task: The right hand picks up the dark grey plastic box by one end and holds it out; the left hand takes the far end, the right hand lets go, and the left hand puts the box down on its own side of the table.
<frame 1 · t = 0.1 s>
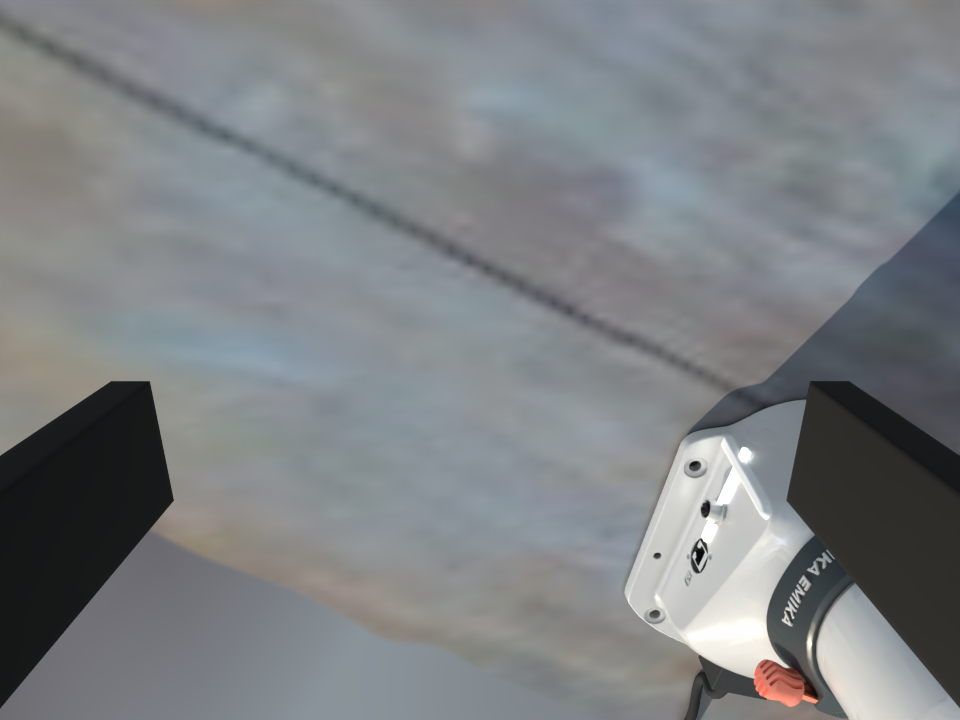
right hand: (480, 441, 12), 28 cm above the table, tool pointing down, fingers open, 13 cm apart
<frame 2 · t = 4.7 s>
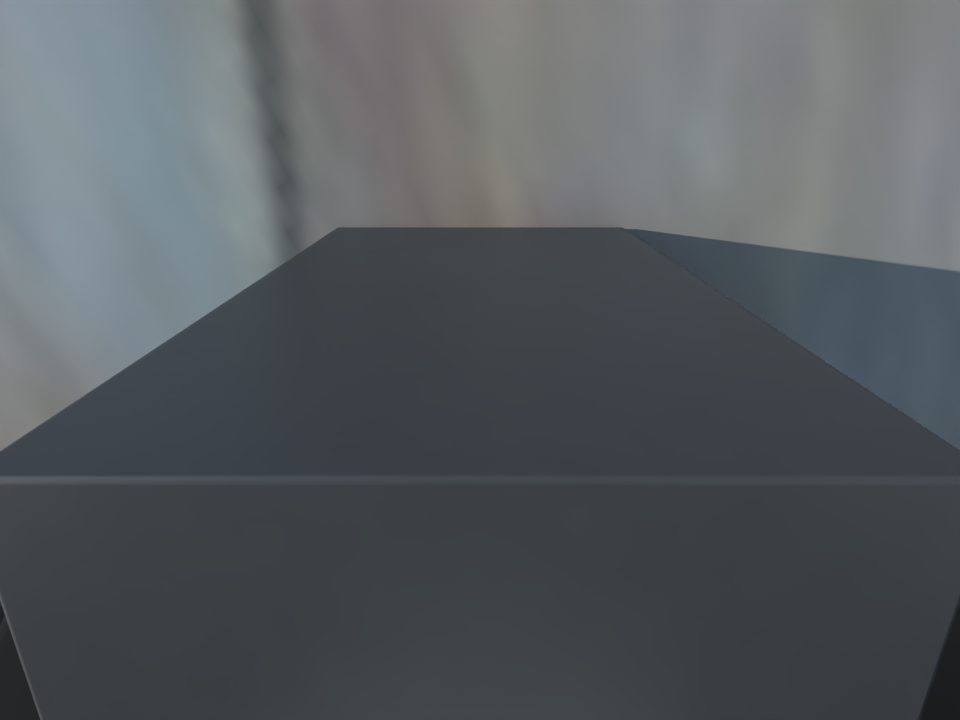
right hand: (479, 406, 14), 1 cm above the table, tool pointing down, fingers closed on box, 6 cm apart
box: (480, 656, 18), on the table, touching right hand
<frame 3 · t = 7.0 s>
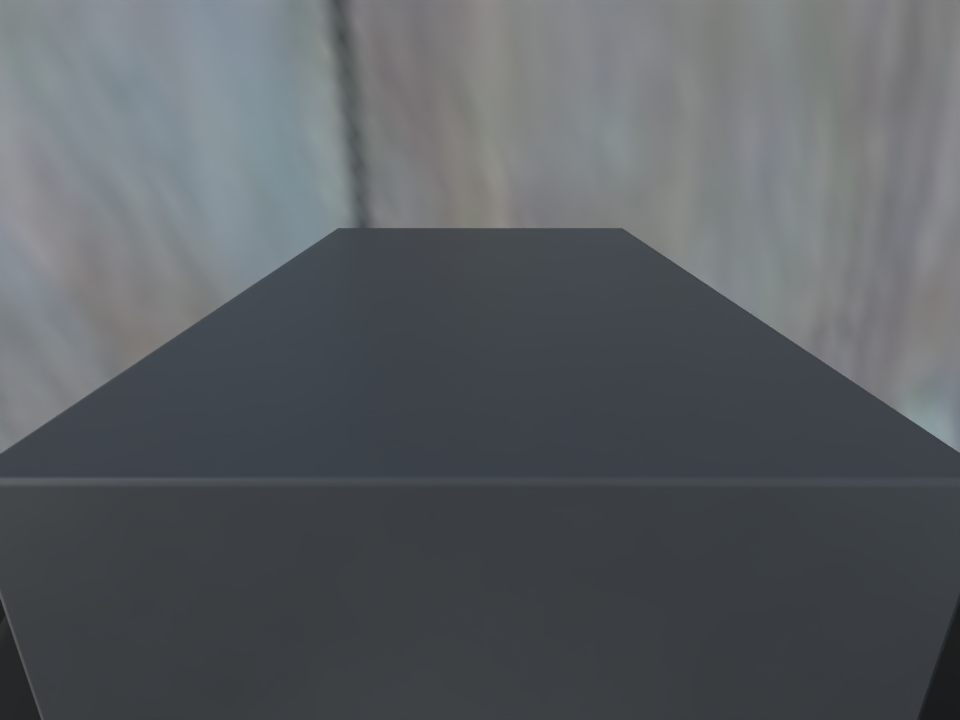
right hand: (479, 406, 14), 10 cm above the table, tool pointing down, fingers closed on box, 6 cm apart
box: (480, 656, 18), point 9 cm above the table, touching right hand
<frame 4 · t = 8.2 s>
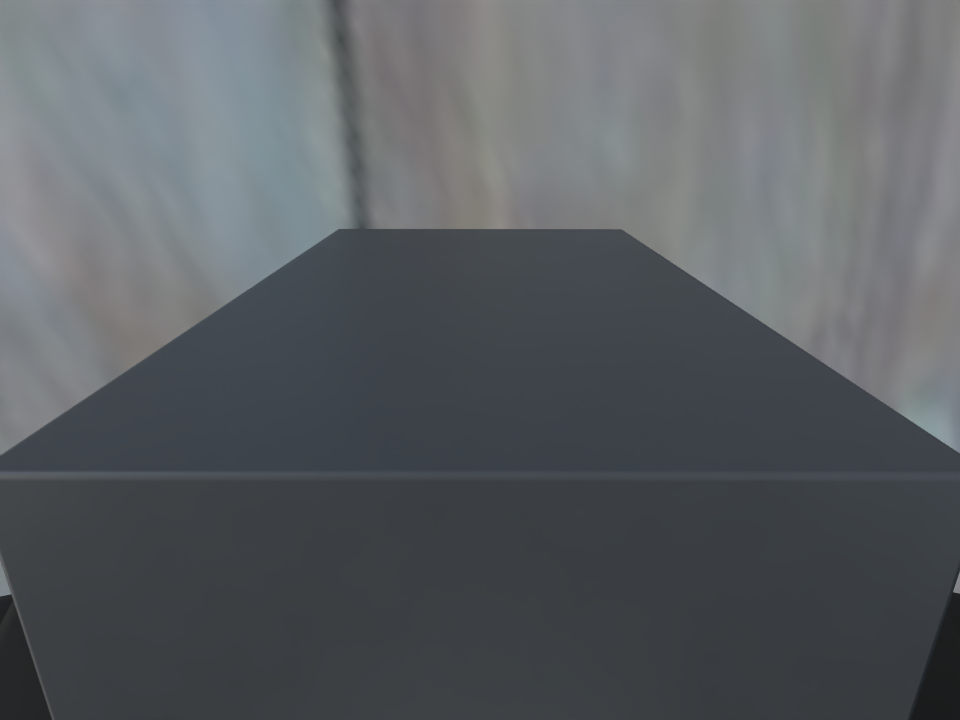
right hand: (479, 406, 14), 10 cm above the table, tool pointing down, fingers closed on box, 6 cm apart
box: (479, 655, 18), point 9 cm above the table, touching right hand, left hand
when the right hand's fingers open (10 cm above the table, at t = 9.3 s): box stays where it is, held by the left hand.
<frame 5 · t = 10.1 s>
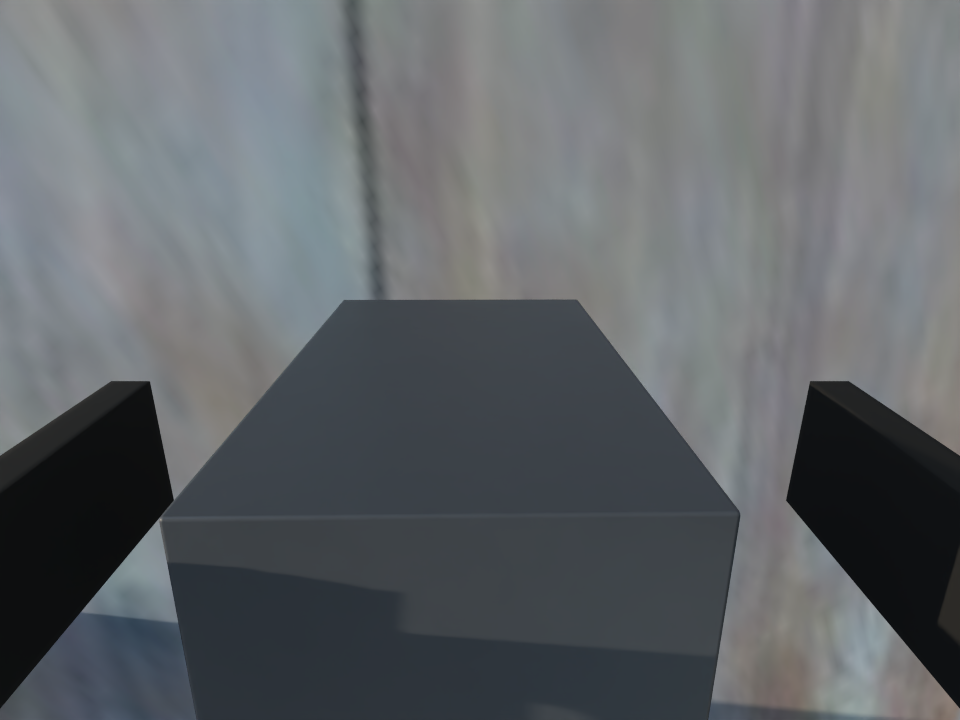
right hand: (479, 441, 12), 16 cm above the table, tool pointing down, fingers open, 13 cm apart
box: (463, 659, 21), point 11 cm above the table, touching left hand
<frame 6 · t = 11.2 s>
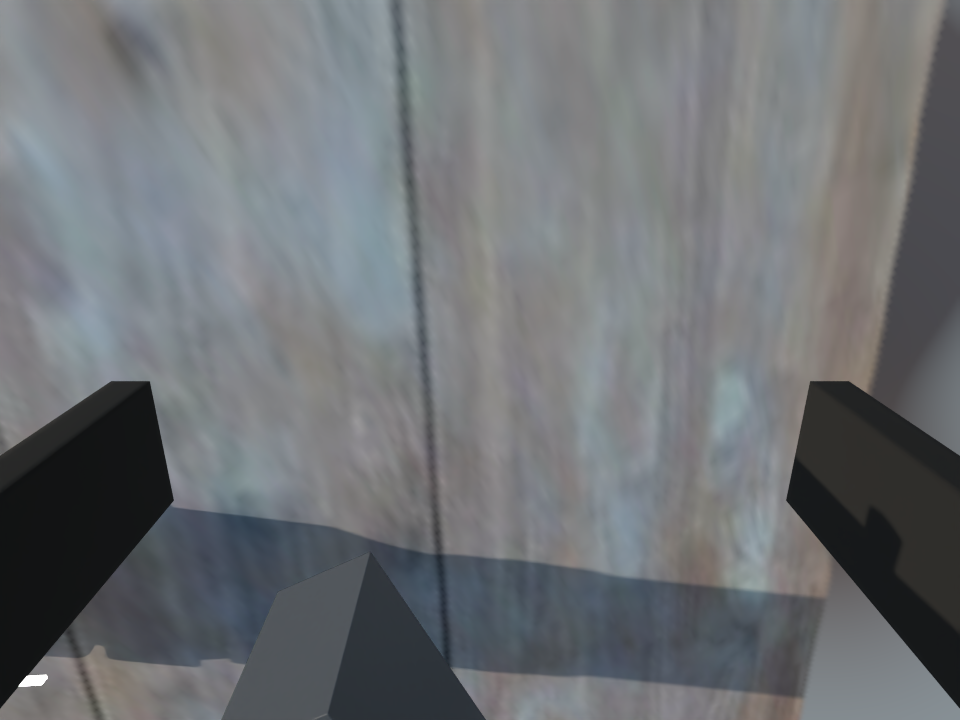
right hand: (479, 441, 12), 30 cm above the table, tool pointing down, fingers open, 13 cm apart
box: (424, 710, 40), point 12 cm above the table, touching left hand
when the left hand's fingers open (6 cm above the table, at t = 14.5 s): box stays where it is, on the table.
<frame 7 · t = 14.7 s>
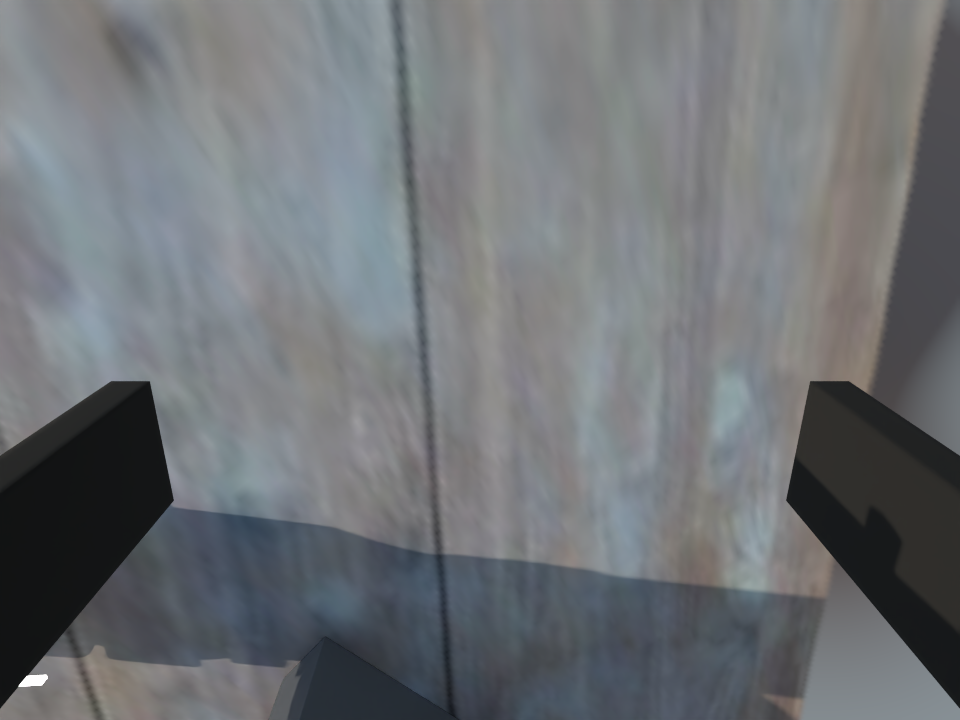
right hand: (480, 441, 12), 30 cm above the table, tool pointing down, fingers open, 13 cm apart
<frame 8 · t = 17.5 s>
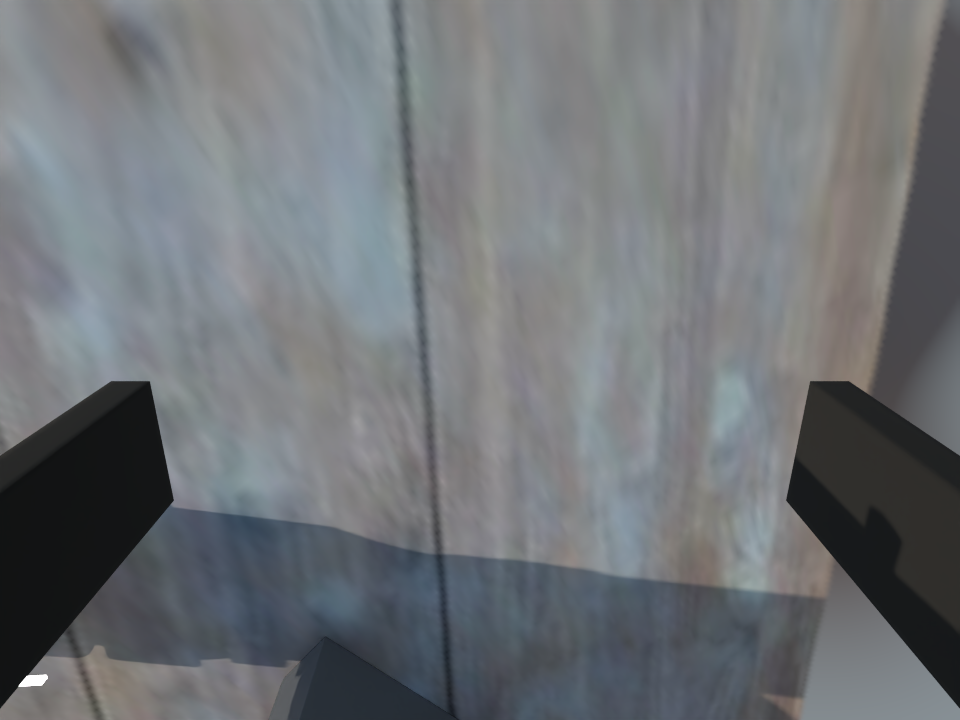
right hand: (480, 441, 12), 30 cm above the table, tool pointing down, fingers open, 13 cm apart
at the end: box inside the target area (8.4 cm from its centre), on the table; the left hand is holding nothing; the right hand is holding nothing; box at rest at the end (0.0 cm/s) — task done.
